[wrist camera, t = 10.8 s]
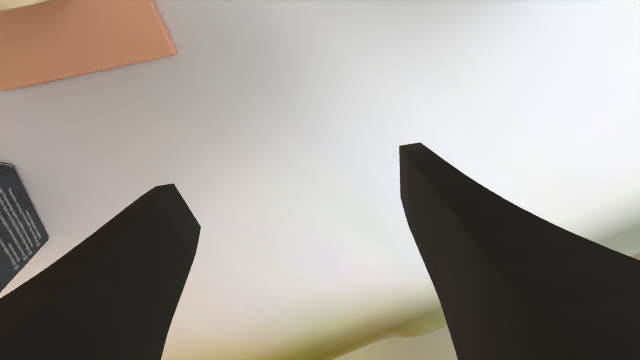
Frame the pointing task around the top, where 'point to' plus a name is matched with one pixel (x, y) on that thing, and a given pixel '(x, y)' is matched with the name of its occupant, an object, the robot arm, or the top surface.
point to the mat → (78, 39)
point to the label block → (19, 4)
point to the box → (16, 226)
